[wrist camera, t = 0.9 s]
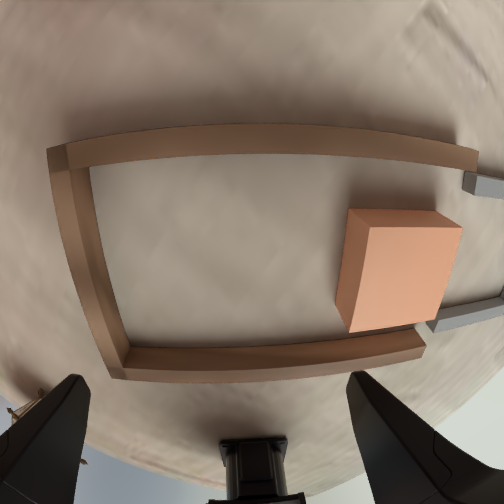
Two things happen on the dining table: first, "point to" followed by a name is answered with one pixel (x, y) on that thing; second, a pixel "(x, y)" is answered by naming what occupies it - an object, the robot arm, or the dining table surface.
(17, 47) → the dining table surface
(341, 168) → the dining table surface
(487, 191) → the grey bay
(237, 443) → the robot arm
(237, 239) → the dining table surface
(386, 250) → the terracotta block
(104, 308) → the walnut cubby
